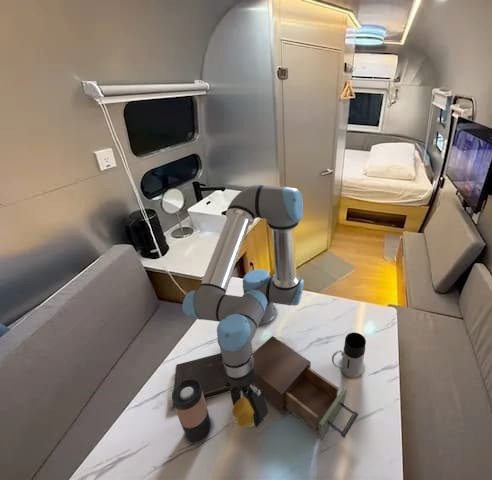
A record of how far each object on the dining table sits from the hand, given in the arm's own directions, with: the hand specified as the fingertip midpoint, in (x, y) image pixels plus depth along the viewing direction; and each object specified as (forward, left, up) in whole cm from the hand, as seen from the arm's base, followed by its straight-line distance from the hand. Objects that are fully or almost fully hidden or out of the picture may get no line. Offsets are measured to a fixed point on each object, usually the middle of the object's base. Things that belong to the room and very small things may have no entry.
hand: (248, 412), depth 83 cm
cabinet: (-17, -4, -8) cm, 19 cm away
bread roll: (0, 0, -1) cm, 1 cm away
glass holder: (-36, +14, -8) cm, 39 cm away
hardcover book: (-2, -24, -8) cm, 26 cm away
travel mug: (+10, -12, -8) cm, 18 cm away
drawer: (-17, +15, -7) cm, 24 cm away
